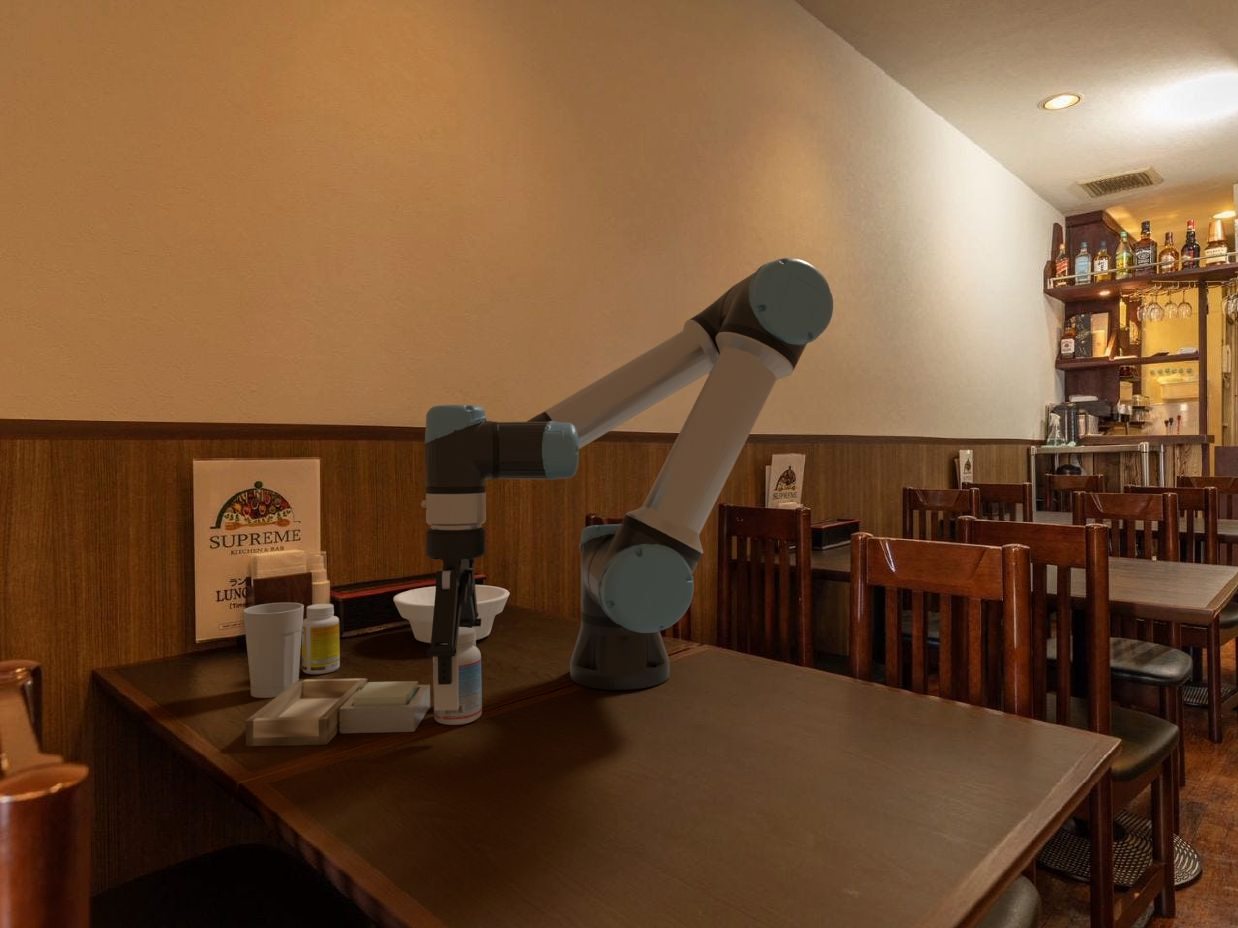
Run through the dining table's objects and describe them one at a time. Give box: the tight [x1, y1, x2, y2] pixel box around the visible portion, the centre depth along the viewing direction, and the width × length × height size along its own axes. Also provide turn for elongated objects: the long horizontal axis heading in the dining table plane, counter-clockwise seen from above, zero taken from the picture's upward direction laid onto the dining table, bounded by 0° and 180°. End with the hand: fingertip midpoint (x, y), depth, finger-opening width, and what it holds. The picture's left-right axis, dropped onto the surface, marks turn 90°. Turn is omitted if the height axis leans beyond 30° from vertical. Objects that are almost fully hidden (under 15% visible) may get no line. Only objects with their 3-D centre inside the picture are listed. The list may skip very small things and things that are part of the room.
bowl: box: [392, 584, 511, 644], centre depth 139 cm, size 21×21×8 cm
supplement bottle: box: [301, 603, 341, 675], centre depth 118 cm, size 6×6×10 cm
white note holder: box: [339, 682, 431, 734], centre depth 96 cm, size 9×9×3 cm
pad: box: [354, 680, 419, 706], centre depth 96 cm, size 6×6×1 cm
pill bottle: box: [432, 627, 483, 726], centre depth 96 cm, size 6×6×11 cm
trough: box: [244, 677, 368, 747], centre depth 95 cm, size 9×16×3 cm, turn 2°
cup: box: [242, 602, 305, 699], centre depth 108 cm, size 8×8×12 cm
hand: (456, 691), depth 96 cm, fingers open, 13 cm apart
